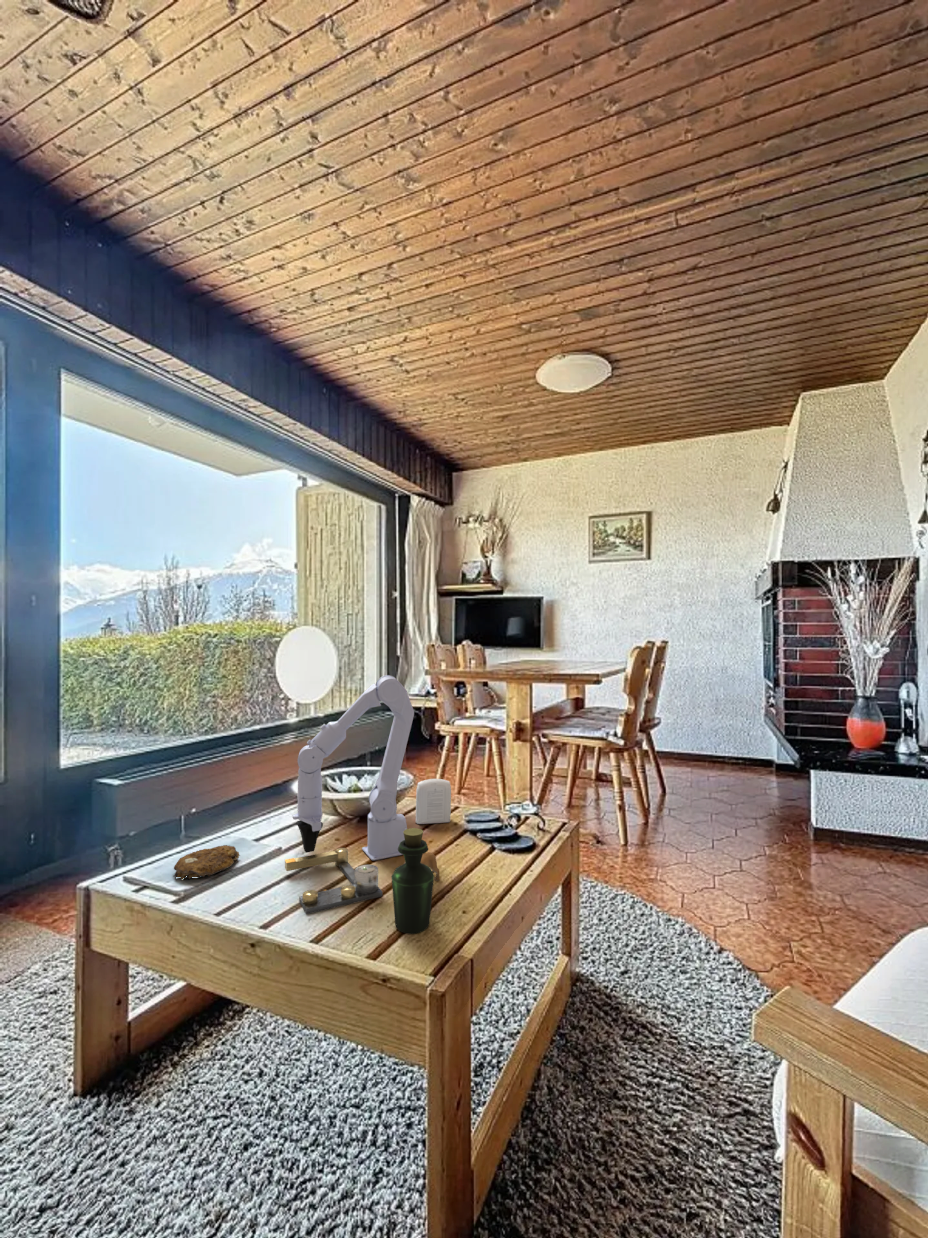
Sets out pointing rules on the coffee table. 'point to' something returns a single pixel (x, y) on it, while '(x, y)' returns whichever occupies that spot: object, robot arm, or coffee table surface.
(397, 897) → the potion bottle
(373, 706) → the robot arm
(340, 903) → the levelling base
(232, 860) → the decorative rock
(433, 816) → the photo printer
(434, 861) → the lion figurine
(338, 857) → the lever
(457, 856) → the coffee table surface
